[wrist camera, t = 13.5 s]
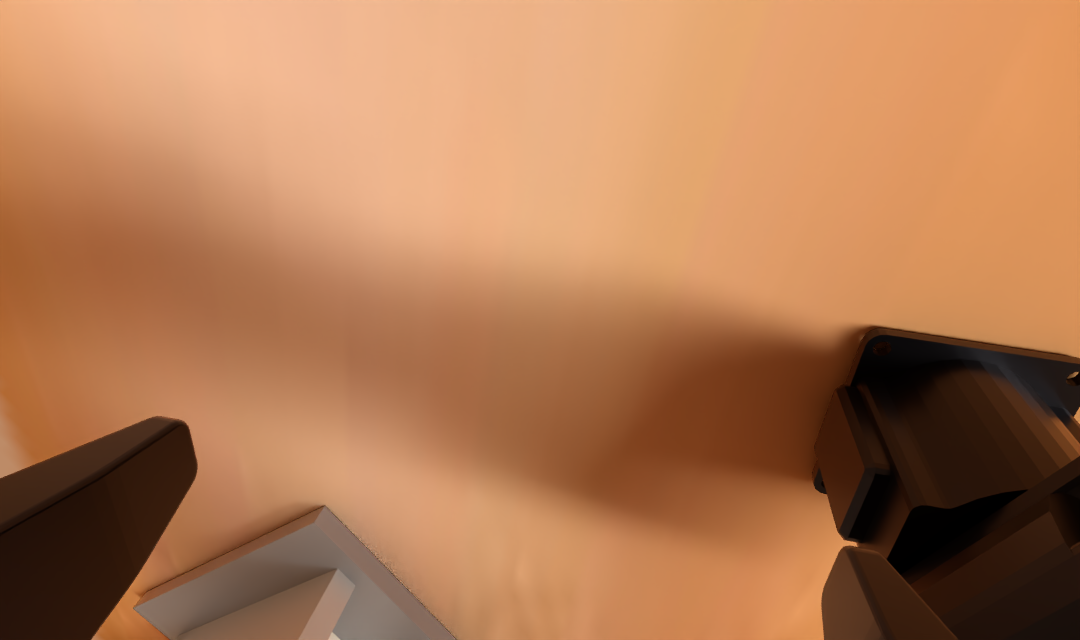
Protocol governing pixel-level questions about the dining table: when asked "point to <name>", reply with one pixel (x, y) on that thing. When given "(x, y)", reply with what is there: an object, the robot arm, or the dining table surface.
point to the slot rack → (291, 592)
